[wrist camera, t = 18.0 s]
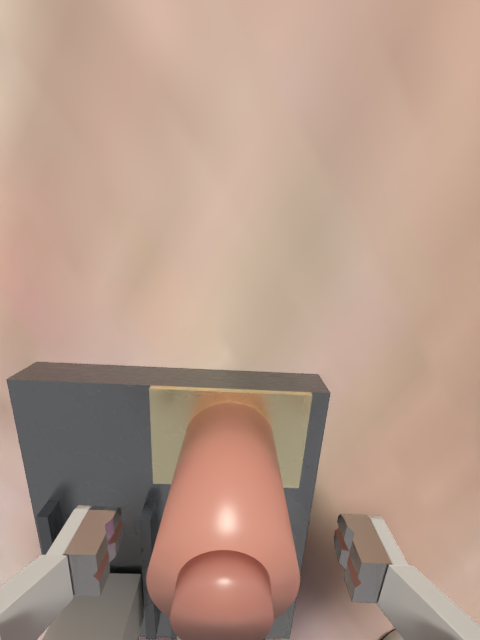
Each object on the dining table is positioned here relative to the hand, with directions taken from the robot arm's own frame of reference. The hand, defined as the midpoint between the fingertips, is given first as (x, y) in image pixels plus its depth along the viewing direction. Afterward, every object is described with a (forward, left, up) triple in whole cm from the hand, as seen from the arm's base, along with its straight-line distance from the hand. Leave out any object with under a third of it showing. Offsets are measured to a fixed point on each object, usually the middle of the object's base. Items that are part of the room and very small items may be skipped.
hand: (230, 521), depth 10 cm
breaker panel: (-7, +3, -6) cm, 10 cm away
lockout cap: (0, 0, -4) cm, 4 cm away
